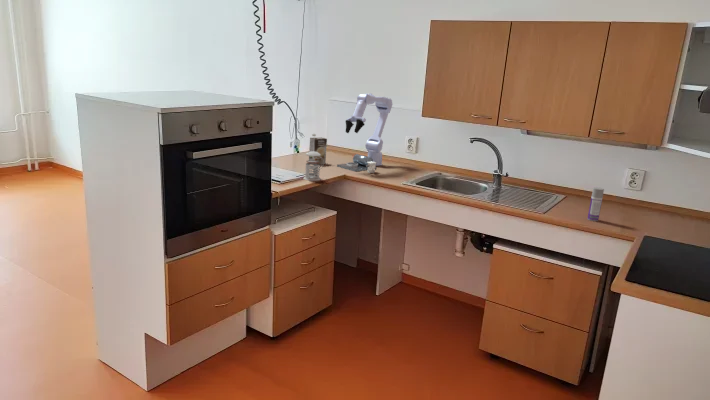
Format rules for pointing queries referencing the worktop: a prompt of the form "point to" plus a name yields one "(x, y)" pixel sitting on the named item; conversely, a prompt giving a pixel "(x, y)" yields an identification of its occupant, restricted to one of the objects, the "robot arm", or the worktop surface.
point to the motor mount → (357, 163)
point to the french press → (315, 168)
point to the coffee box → (318, 149)
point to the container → (595, 204)
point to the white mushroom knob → (371, 167)
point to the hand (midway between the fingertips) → (351, 132)
